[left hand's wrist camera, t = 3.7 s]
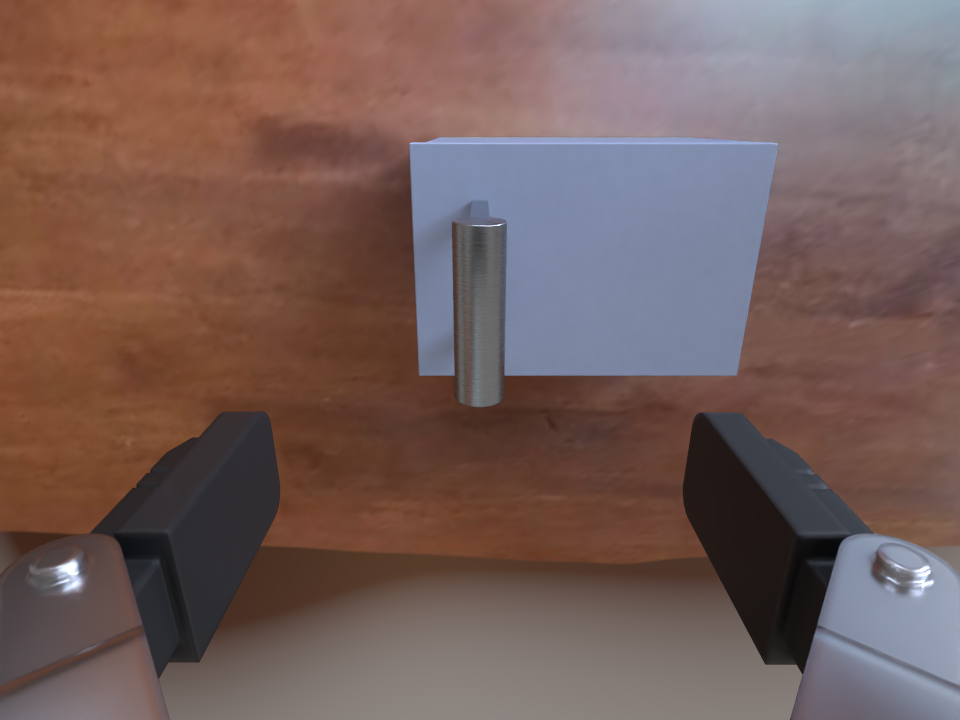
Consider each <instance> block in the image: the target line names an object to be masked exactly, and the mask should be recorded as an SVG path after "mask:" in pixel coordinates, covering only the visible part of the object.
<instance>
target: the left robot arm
mask: <svg viewBox="0 0 960 720" xmlns="http://www.w3.org/2000/svg"><path fill="white" fill-rule="evenodd" d="M279 499H280V482H279V475H278V468H277V462H276V455H275V448H274V442H273V435H272V428H271V423H270V419H269V417H268V415H267V414H266V413H265V412H222V413H221V414H220V415H219V416H218V417H217V418H216V419H215V420H214V421H213V422H212V423H211V425H210V426H209V427H208V428H207V429H206V430H205V431H204V432H203V433H202V435H201V436H200V437H199V438H191V439H189V440H187V441H186V442H184V443H182V444H181V445H179V446H177V447H175V448H174V449H172V450H170V451H168V452H167V453H166V454H165V455H164V456H163V457H162V458H161V459H160V460H159V461H158V462H157V463H156V464H155V465H154V466H153V468H152V469H151V472H150V473H147V474H146V475H145V476H144V477H143V478H142V479H141V480H140V481H139V482H138V483H137V487H136V488H132V490H131V491H130V492H129V493H128V494H127V495H126V496H125V497H124V498H123V499H122V500H121V501H120V502H119V503H118V504H117V505H116V506H115V507H114V508H113V509H112V510H111V512H110V513H109V514H108V515H107V516H106V517H105V518H104V519H103V520H102V521H101V522H100V523H99V524H98V525H97V526H96V527H95V528H94V529H93V530H92V531H91V532H90V534H80V535H74V536H69V537H65V538H62V539H58V540H55V541H53V542H50V543H47V544H45V545H42V546H40V547H38V548H36V549H34V550H32V551H30V552H28V553H27V554H25V555H23V556H22V557H20V558H19V559H17V560H16V561H15V562H13V563H12V564H11V565H9V566H8V567H7V568H6V569H5V570H4V571H3V572H2V573H1V575H0V720H170V718H169V715H168V711H167V708H166V704H165V701H164V697H163V694H162V690H161V687H160V683H159V680H158V679H159V677H160V676H161V674H162V672H163V671H164V669H165V667H166V665H167V664H168V662H200V660H201V658H202V656H203V654H204V652H205V650H206V648H207V646H208V644H209V643H210V641H211V639H212V637H213V635H214V633H215V631H216V629H217V627H218V625H219V624H220V622H221V620H222V618H223V616H224V614H225V612H226V610H227V608H228V606H229V604H230V602H231V601H232V599H233V597H234V595H235V593H236V591H237V589H238V587H239V585H240V583H241V581H242V579H243V577H244V576H245V574H246V572H247V570H248V568H249V566H250V564H251V562H252V560H253V558H254V556H255V555H256V553H257V551H258V549H259V547H260V545H261V543H262V541H263V539H264V537H265V535H266V533H267V532H268V530H269V528H270V526H271V524H272V522H273V520H274V518H275V516H276V513H277V510H278V506H279ZM683 500H684V506H685V511H686V514H687V517H688V519H689V521H690V523H691V525H692V527H693V529H694V530H695V532H696V534H697V536H698V538H699V540H700V542H701V544H702V546H703V547H704V549H705V551H706V553H707V555H708V557H709V559H710V561H711V563H712V564H713V566H714V568H715V570H716V572H717V574H718V576H719V578H720V580H721V581H722V583H723V585H724V587H725V589H726V591H727V593H728V595H729V597H730V599H731V600H732V602H733V604H734V606H735V608H736V610H737V612H738V614H739V616H740V617H741V619H742V621H743V623H744V625H745V627H746V629H747V631H748V633H749V634H750V636H751V638H752V640H753V642H754V644H755V646H756V648H757V650H758V652H759V653H760V655H761V657H762V659H763V661H764V663H765V664H766V665H774V664H775V665H781V664H782V665H797V666H798V668H799V669H800V671H801V673H802V674H803V676H802V680H801V683H800V687H799V690H798V694H797V697H796V701H795V704H794V708H793V711H792V715H791V718H790V720H960V575H959V573H958V572H957V571H956V570H955V569H954V568H953V567H952V566H951V565H949V564H948V563H947V562H945V561H944V560H943V559H941V558H940V557H938V556H937V555H935V554H933V553H932V552H930V551H928V550H926V549H924V548H922V547H920V546H918V545H915V544H913V543H910V542H908V541H905V540H902V539H898V538H895V537H891V536H886V535H880V534H874V533H873V532H872V531H871V530H870V529H869V528H868V527H867V526H866V525H865V524H864V523H863V522H862V521H861V519H860V518H859V517H858V516H857V515H856V514H855V513H854V512H853V511H852V510H851V509H850V508H849V507H848V506H847V505H846V504H845V503H844V502H843V501H842V500H841V499H840V498H839V497H838V496H837V495H836V494H835V492H834V491H833V490H832V489H828V485H827V484H826V483H825V482H824V481H823V480H822V479H821V478H820V477H819V476H818V475H817V474H814V471H813V470H812V469H811V468H810V467H809V465H808V464H807V463H806V462H805V461H804V460H803V459H802V458H801V457H800V456H799V455H798V454H797V453H795V452H793V451H792V450H790V449H788V448H787V447H785V446H783V445H781V444H780V443H778V442H776V441H774V440H773V439H765V438H764V437H763V436H762V435H761V434H760V432H759V431H758V430H757V429H756V428H755V427H754V426H753V425H752V424H751V423H750V421H749V420H748V419H747V418H746V417H745V416H744V415H743V414H741V413H698V414H697V415H696V416H695V418H694V421H693V425H692V431H691V437H690V444H689V450H688V457H687V463H686V470H685V476H684V483H683Z"/></svg>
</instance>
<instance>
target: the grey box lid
mask: <svg viewBox="0 0 960 720" xmlns="http://www.w3.org/2000/svg"><path fill="white" fill-rule="evenodd" d="M777 148H778V143H616V142H413V143H409V154H410V177H411V201H412V224H413V248H414V271H415V295H416V319H417V342H418V366H419V376H454V379H455V398H456V400H457V401H458V402H459V403H461V404H463V405H466V406H471V407H488V406H493V405H496V404H498V403H500V402H501V401H502V400H503V398H504V383H505V376H737V371H738V366H739V360H740V355H741V349H742V344H743V338H744V332H745V327H746V321H747V316H748V310H749V305H750V299H751V293H752V288H753V282H754V277H755V271H756V265H757V260H758V254H759V249H760V243H761V238H762V232H763V226H764V221H765V215H766V210H767V204H768V199H769V193H770V187H771V182H772V176H773V171H774V165H775V159H776V154H777Z"/></svg>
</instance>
